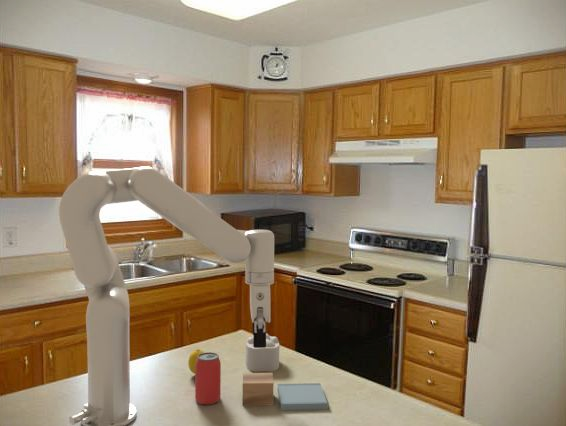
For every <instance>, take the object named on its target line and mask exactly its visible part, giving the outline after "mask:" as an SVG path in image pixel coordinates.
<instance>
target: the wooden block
mask: <svg viewBox="0 0 566 426" xmlns="http://www.w3.org/2000/svg"><path fill="white" fill-rule="evenodd" d="M273 376H274V373H273V372H243V373H242V406H273V405H274V377H273Z"/></svg>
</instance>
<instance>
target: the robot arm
mask: <svg viewBox="0 0 566 426" xmlns="http://www.w3.org/2000/svg"><path fill="white" fill-rule="evenodd" d="M136 201H138V202H140V203H141V204H143V205H145V206H146V207H147V208H148V209H150V210H151V211H153V212H154V213H155V214H157V215H159V216H160V217H162V218H163V219H164V220H165V221H167V222H168V223H170V224H172V226H174V227H176V228H177V229H179V231H182V233H184V234H187V235H188V236H190V237H191V238H193V239H195V240H197V241H198V242H199V243H200V244H203V246H205V247H206V248H208V249H209V250H211V251H212V252H213V253H215V254H217V255H218V256H219V257H221V258H222V259H223V260H225V261H226V262H228V263H231V264H241V263H243V262H245V265H244V266H245V267H244V268H245V269H244V271H245V272H244V277H245V279H244V283H245V284H247V285H249V309H250V316H251V317H250V318H251V323H252V336H253V346H254V348H265V347H266V333H267V331H266V323H268V324H269V323H271V320H272V319H271V285H273V284H274V283H275V234H274V233H273V231H271V230H269V229H250V230H244V229H243V230H242V229H236V228H235V227H233V226H232V225H231V224H229V223H228V222H227V221H225V220H224V219H222V218H221V217H219V215H217V214H216V213H214V212H213V211H212V210H211V209H209V208H208V207H207V206H206V205H205V204H204V203H202V202H201V201H200V200H198V198H196V197H195V196H193V195H192V194H190V193H189V192H187V191H186V190H184V188H182V187H181V186H179V185H178V184H176V183H175V182H174V181H172V180H171V179H170V178H168V177H167V176H165V174H163V173H161V172H160V171H158V170H157V168H156V169H155V168H154V167H151V166H145V165H144V166H139V167H132V168H123V169H111V170H108V169H107V170H93V171H92V170H91V171H87V172H85V173H83V174H81V175H79V176H78V177H77V178H76V179H74V181H72V182H71V183H70V185H69V186H67V188H66V189H65V191H64V192H63V194H62V196H61V199H60V202H59V207H58V216H59V221H60V225H61V226H60V227H61V230H62V233H63V236H64V241H65V244H66V247H67V250H68V254H69V257H70V260H71V264H72V268H73V271H74V275H75V277H76V279H77V280H78V281H79V283H80V284H81V285H83V286H84V290H85V292H86V296H87V298H88V303H87V307H86V312H85V327H86V340H87V341H86V345H87V346H86V349H87V355H86V357H87V401H88V402H87V403H85V404H83V409H82V410H81V411H80V412H79V413H76V414H74V415H72V416H69V418H68V419H69V423H70V425H71V426H74V425H76V424H78V423H80V422H81V424H82V426H127V425H129V424H130V423H132V422H133V421H134V420H135V419H136V417H137V408H136V406H135V405H134V404H132V403H131V396H130V395H131V392H130V391H131V388H130V387H131V384H130V383H131V382H130V377H131V375H130V374H131V373H130V370H131V368H130V367H131V365H130V317H131V316H130V315H131V313H130V311H131V310H130V297H129V296H130V295H129V292H128V289H127V285H126V282H125V280H124V276H123V273H122V270H121V266H120V263H119V260H118V257H117V255H116V252H115V250H114V249H113V248H112V247H111V246H109V244H108V242H107V239H106V236H105V231H104V228H103V225H102V222H101V219H100V212H101V210H102V208H103V207H104V206H106V205H110V204H119V203H120V204H121V203H127V202H136Z"/></svg>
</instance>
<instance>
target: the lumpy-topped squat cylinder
mask: <svg viewBox="0 0 566 426" xmlns="http://www.w3.org/2000/svg"><path fill="white" fill-rule="evenodd" d="M253 336H254V335H252V336H250V337H248V338H247V339H246V342H245V366H246V369H247V370H249V371H251V372H253V373H259V372H273V371H277V370H278V369H279V368H280V342H279V339H278V337H277V336H271V335H269V334H268V333H267V332H266V347H265V348H254V346H253Z"/></svg>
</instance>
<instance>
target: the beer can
mask: <svg viewBox="0 0 566 426" xmlns="http://www.w3.org/2000/svg"><path fill="white" fill-rule="evenodd" d="M219 356H220V355H219V354H218V353H216V352H208V351H207V352H204V353H202V354H199V355H198V357H197V358H198V359H197V361H196V365H195V378H194V380H195V383H194V385H195V386H194V387H195V390H194V393H195V395H194V397H195V401H196V402H197V404H198V403H199V405H204V406H205V405H214V404H216V403H219V401H220V399H221V372H222V367H221V366H222V365H221V363H222V362H221V360H220V358H219Z"/></svg>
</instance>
